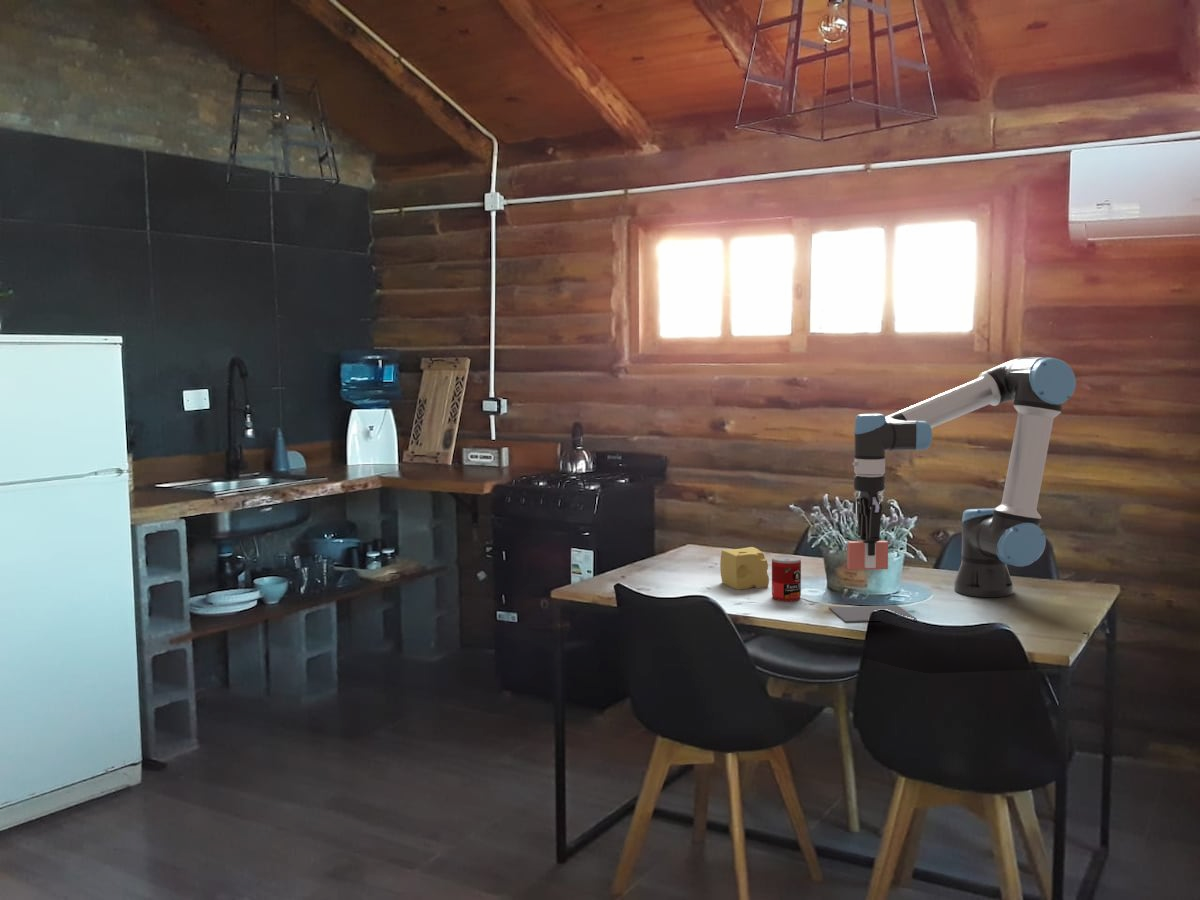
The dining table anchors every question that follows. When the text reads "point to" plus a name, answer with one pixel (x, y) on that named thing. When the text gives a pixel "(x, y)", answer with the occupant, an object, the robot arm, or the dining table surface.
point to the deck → (858, 551)
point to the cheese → (744, 568)
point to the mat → (864, 612)
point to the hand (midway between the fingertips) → (868, 566)
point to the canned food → (786, 578)
